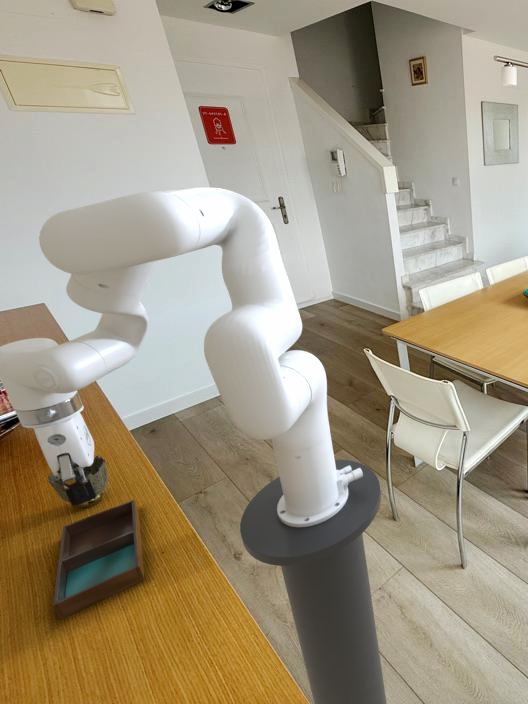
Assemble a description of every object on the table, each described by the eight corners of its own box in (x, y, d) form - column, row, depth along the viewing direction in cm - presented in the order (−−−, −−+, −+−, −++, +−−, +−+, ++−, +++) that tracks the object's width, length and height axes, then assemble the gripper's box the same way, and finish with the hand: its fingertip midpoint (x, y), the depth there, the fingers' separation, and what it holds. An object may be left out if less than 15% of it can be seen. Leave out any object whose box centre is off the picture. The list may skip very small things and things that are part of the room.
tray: (139, 512, 77) (134, 499, 76) (144, 580, 65) (138, 566, 64) (69, 539, 71) (62, 526, 70) (60, 620, 59) (52, 605, 58)
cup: (85, 520, 75) (69, 485, 72) (52, 514, 76) (35, 479, 73) (127, 490, 82) (114, 457, 79) (97, 485, 83) (83, 452, 80)
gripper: (78, 422, 68) (112, 505, 74) (83, 382, 80) (112, 457, 86) (9, 441, 63) (52, 528, 70) (25, 395, 75) (61, 473, 82)
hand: (85, 488), depth 78 cm, fingers closed on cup, 7 cm apart
